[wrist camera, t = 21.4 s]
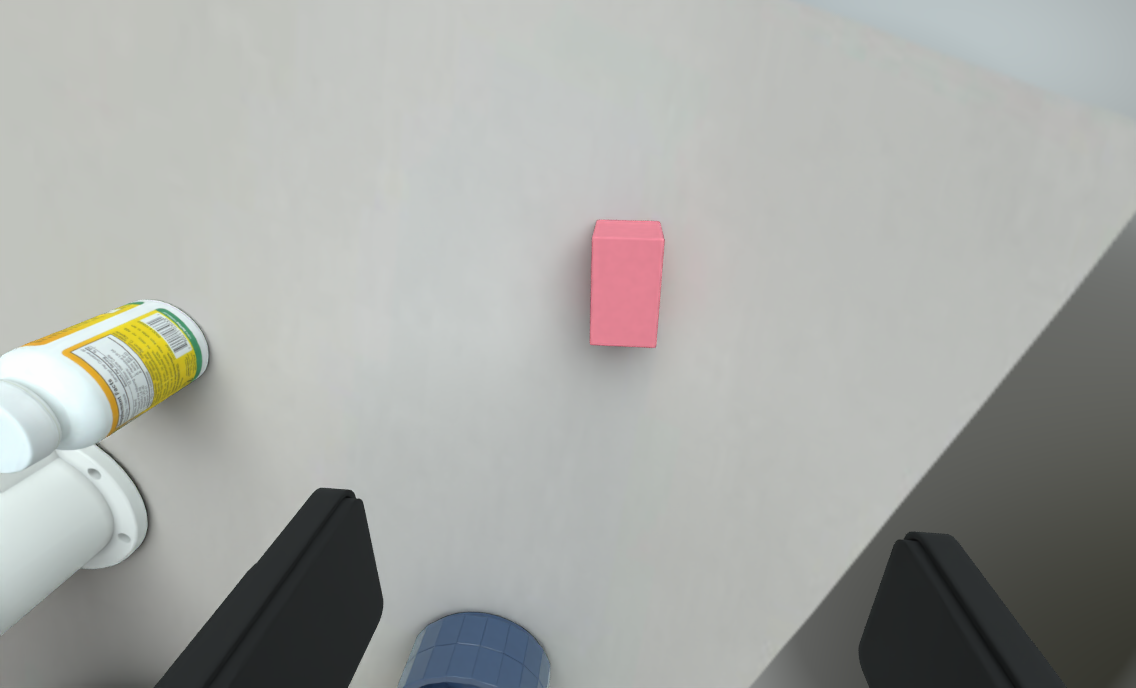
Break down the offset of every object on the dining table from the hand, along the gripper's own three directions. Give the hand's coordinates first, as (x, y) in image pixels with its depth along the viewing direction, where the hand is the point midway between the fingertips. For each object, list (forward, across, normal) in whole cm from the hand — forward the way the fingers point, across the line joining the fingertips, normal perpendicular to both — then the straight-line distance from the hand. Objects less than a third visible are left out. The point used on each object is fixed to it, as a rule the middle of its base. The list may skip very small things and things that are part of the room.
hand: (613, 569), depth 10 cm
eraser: (+18, 0, 0) cm, 18 cm away
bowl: (+18, +9, +30) cm, 36 cm away
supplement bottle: (+18, +26, +5) cm, 32 cm away
